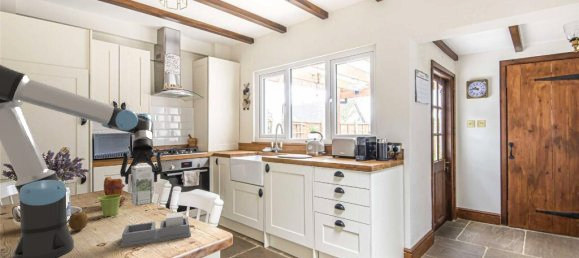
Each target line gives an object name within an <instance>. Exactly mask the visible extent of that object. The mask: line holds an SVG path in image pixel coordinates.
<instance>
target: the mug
mask: <svg viewBox="0 0 579 258" xmlns="http://www.w3.org/2000/svg"><path fill="white" fill-rule="evenodd" d="M125 185H126V184H124V183H123V178H112V177H111V176H107V177H105V178H104V180H103V191H104V194H105V195H104V196H107V195H122V196H121V199H120V203H119V207H120V206H123V204H124V202H125V200H126V197H124V193H123V192H124V187H126V186H125Z"/></svg>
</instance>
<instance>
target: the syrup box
mask: <svg viewBox="0 0 579 258" xmlns="http://www.w3.org/2000/svg"><path fill="white" fill-rule="evenodd" d="M152 173H153V172H152V167H151V166H150V165H148V164H140V165H138V164H137V165H136V166H132V167H131V179H132V180H131V204H133V205H134V206H144V205H148V204H149V205H150V204H152V203H153V196H152V195H153V191H152Z"/></svg>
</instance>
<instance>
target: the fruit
mask: <svg viewBox="0 0 579 258" xmlns="http://www.w3.org/2000/svg"><path fill="white" fill-rule="evenodd" d="M88 220H89V218H88V215H87V213H86V212H85V211H81V210H77V211H76V212H74V213H71V216H70V218H69V221H68V225H69V227H70V229H71V230H73V231H76V232H80V231H81V230H83V229H85V228H86V226H87V224H88Z"/></svg>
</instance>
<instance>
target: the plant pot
mask: <svg viewBox="0 0 579 258" xmlns="http://www.w3.org/2000/svg"><path fill="white" fill-rule="evenodd" d="M121 196H122V195H107V196H106V195H103V196H100V197H98V198H97V199H98V200H99V203H100V205H101V206H100V207H101V211H102V215H103V217H106V218H107V217H113V216H117V215H118V214H119V209H120V206H119V203H120V199H121Z"/></svg>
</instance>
